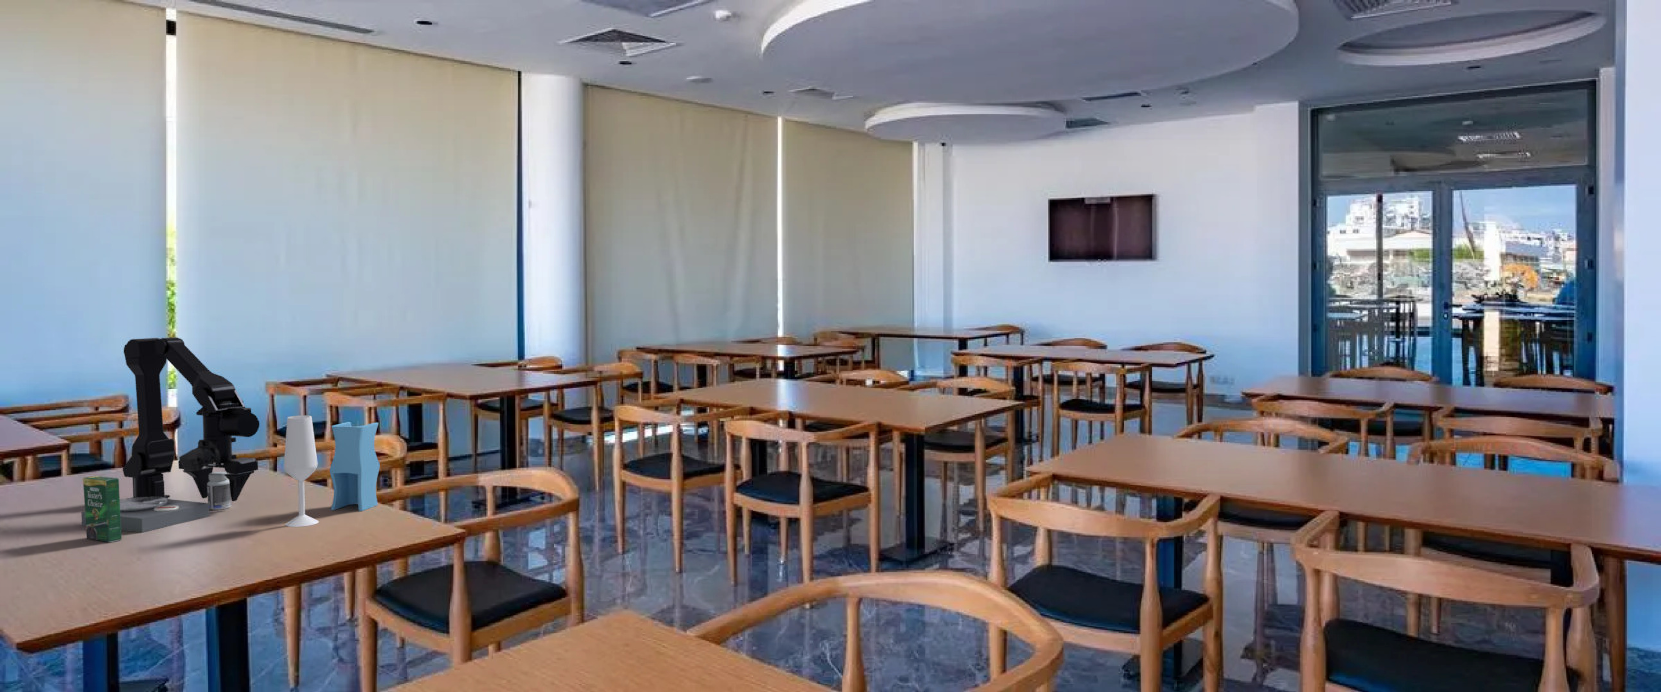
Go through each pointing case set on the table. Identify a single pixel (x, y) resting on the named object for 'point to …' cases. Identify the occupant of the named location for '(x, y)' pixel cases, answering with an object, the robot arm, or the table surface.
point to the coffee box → (102, 508)
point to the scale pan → (141, 503)
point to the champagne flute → (300, 461)
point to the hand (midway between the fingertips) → (219, 499)
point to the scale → (161, 515)
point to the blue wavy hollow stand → (354, 466)
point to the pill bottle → (218, 491)
